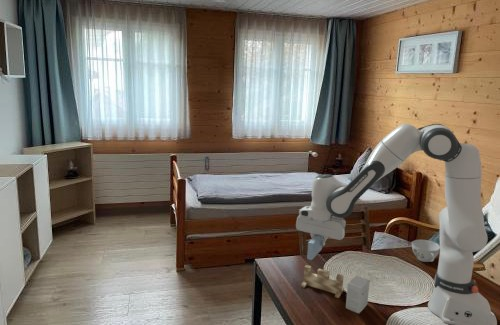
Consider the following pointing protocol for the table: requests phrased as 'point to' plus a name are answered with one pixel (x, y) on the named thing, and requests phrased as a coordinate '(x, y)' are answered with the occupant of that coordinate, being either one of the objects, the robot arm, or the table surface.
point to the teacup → (425, 250)
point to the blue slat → (314, 246)
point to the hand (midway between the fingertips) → (318, 244)
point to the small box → (357, 294)
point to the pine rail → (323, 281)
